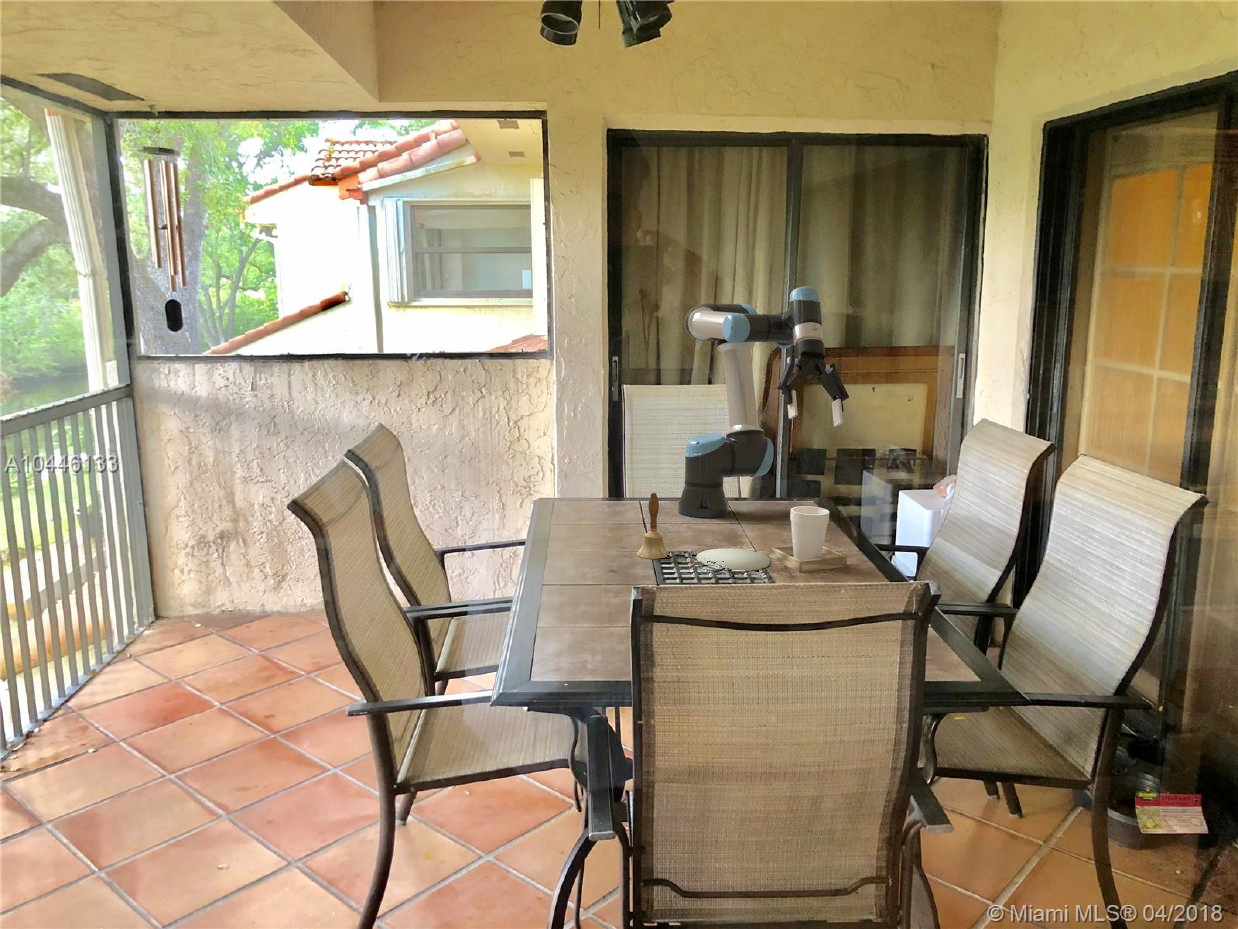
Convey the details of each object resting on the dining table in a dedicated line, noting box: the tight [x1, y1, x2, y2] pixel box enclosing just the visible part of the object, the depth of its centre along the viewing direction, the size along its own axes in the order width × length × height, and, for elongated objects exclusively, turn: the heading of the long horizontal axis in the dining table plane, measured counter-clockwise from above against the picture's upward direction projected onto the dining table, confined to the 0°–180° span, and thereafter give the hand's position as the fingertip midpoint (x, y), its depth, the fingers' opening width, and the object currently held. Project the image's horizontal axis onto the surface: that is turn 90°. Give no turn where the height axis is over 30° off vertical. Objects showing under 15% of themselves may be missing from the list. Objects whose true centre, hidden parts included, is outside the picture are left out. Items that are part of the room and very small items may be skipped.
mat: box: [695, 548, 771, 571], centre depth 224 cm, size 18×18×1 cm
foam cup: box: [789, 505, 830, 561], centre depth 223 cm, size 10×9×13 cm
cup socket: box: [768, 544, 848, 573], centre depth 224 cm, size 14×14×2 cm
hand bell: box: [636, 492, 670, 561], centre depth 226 cm, size 8×8×16 cm
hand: (816, 421), depth 225 cm, fingers open, 13 cm apart
